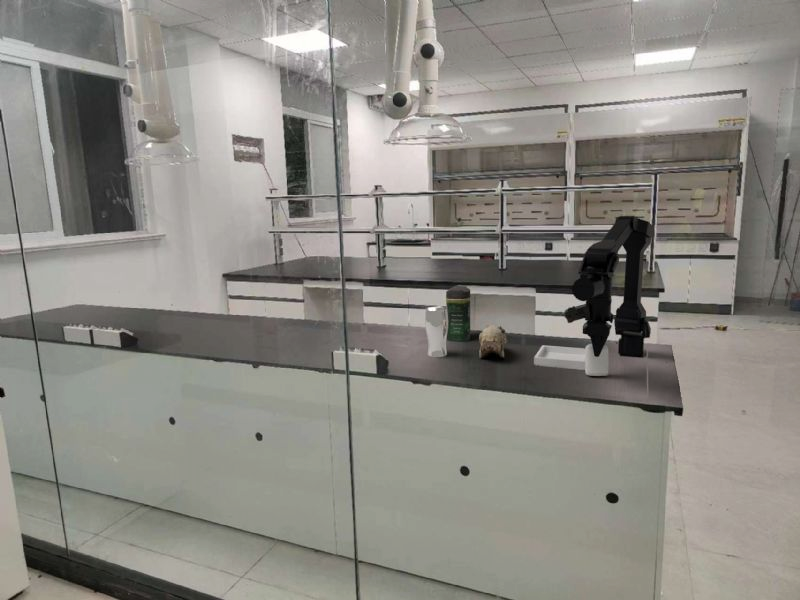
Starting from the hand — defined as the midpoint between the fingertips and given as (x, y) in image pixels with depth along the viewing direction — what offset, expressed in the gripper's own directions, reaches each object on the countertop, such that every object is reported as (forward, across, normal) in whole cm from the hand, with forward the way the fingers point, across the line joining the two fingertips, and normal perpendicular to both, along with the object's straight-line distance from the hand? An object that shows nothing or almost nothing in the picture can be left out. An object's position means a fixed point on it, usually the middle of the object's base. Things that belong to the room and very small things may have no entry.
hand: (597, 354), depth 142 cm
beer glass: (+6, -3, -46) cm, 46 cm away
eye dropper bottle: (+6, +1, 0) cm, 6 cm away
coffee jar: (+6, -24, -46) cm, 52 cm away
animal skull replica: (+6, -9, -30) cm, 31 cm away
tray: (+6, -10, -10) cm, 15 cm away
